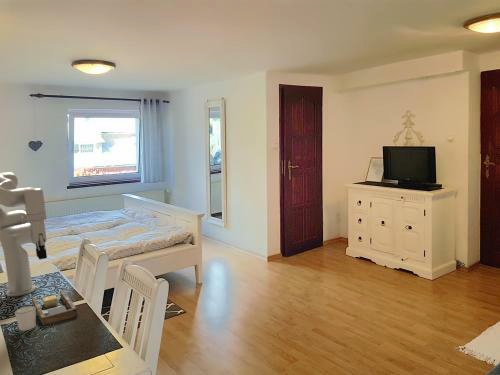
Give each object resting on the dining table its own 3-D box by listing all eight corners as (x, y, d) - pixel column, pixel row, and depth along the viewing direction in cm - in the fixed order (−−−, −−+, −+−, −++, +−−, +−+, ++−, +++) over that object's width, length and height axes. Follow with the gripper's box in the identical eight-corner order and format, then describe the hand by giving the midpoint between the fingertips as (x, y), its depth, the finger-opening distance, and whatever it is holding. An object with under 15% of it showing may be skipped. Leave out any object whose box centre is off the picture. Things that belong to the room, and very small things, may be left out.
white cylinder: (28, 331, 149) (26, 313, 148) (12, 331, 151) (10, 313, 150) (41, 323, 156) (39, 306, 155) (26, 322, 157) (24, 305, 156)
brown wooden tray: (32, 304, 175) (31, 297, 174) (63, 296, 182) (62, 289, 181) (42, 325, 154) (41, 317, 153) (77, 315, 161) (76, 308, 160)
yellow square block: (43, 304, 175) (42, 297, 175) (55, 301, 178) (55, 294, 177) (45, 308, 171) (44, 301, 170) (57, 304, 174) (57, 298, 173)
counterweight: (48, 317, 162) (47, 310, 161) (64, 312, 165) (63, 305, 165) (51, 322, 157) (50, 315, 156) (68, 317, 160) (67, 310, 160)
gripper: (24, 215, 180) (29, 255, 182) (29, 221, 166) (35, 263, 169) (42, 213, 184) (47, 251, 187) (49, 217, 171) (54, 259, 173)
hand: (41, 257), depth 178 cm, fingers open, 4 cm apart
